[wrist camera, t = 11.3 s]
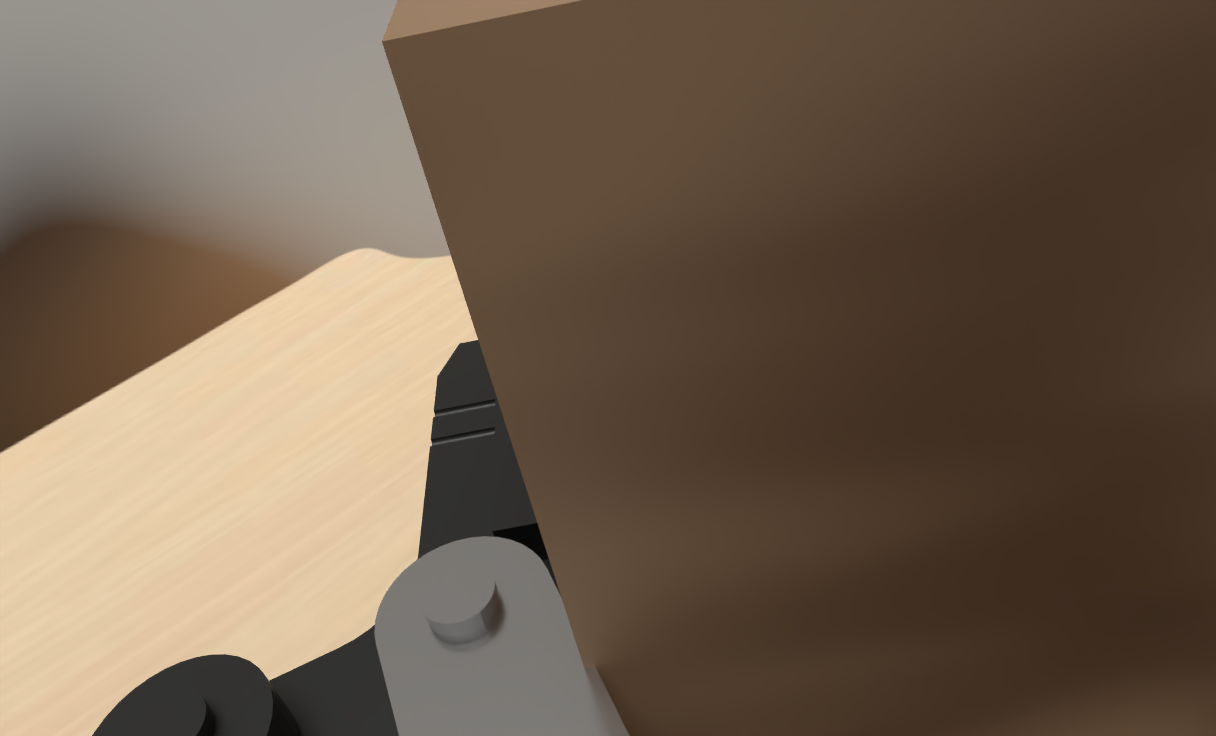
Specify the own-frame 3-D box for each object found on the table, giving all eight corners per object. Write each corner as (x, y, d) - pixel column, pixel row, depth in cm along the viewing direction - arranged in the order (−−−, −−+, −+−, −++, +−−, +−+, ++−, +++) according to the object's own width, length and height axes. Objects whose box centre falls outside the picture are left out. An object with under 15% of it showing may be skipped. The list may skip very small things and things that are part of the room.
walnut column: (709, 1055, 10) (385, 42, 3) (656, 684, 13) (453, -145, 7) (1135, 986, 10) (1731, -237, 3) (963, 629, 13) (1062, -275, 7)
